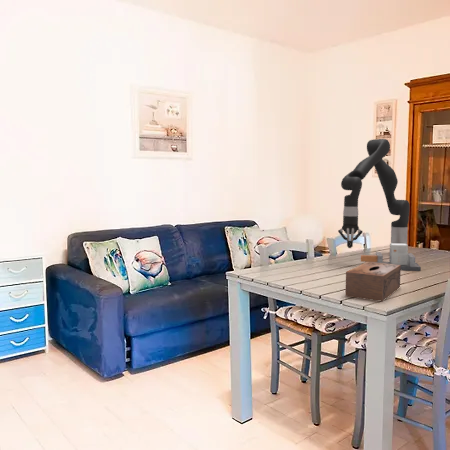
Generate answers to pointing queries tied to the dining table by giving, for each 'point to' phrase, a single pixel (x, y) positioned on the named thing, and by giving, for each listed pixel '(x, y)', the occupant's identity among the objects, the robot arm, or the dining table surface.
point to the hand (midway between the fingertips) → (349, 247)
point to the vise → (409, 264)
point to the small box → (398, 254)
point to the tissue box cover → (373, 280)
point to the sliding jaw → (372, 258)
